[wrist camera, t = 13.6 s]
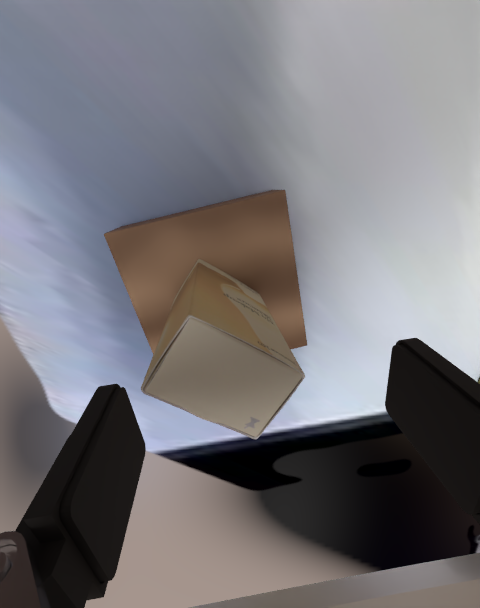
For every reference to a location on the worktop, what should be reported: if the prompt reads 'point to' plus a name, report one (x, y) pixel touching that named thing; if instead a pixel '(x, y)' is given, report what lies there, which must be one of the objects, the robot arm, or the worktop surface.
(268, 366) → the skincare box
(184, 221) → the walnut block
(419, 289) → the worktop surface
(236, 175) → the worktop surface
